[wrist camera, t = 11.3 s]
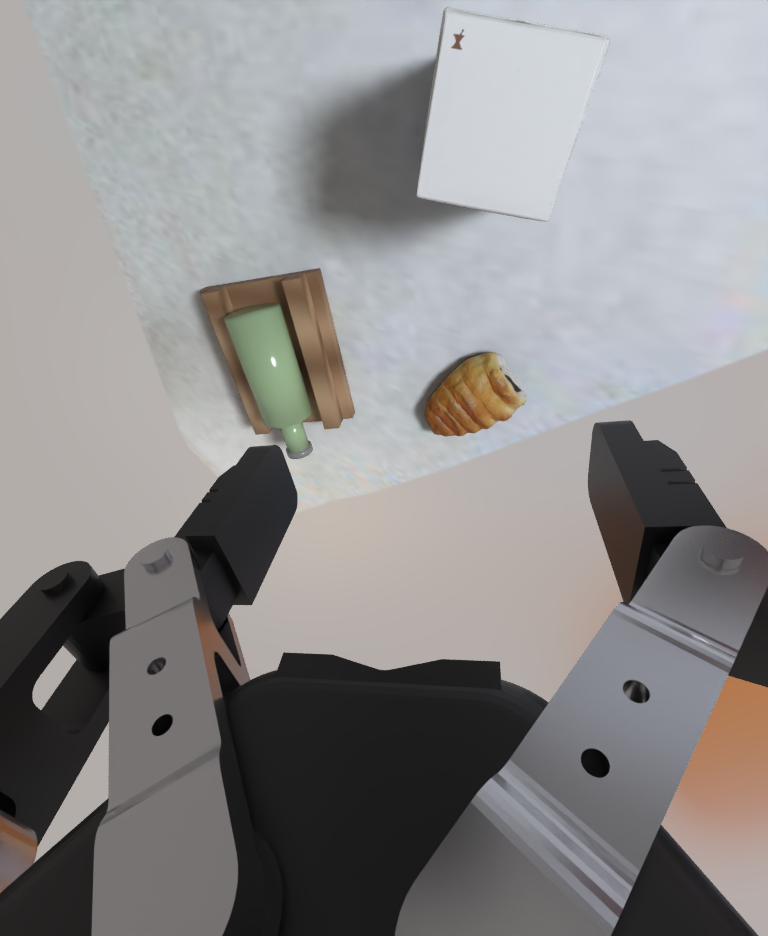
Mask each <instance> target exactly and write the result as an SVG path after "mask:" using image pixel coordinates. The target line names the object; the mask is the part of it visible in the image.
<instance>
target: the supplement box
mask: <svg viewBox="0 0 768 936" xmlns="http://www.w3.org/2000/svg"><path fill="white" fill-rule="evenodd" d="M609 45H610V39H609V37H607V36H605V35H601V34H595V33H590V32H584V31H578V30H572V29H566V28H560V27H555V26H549V25H544V24H538V23H533V22H529V21H524V20H520V19H508V18H503V17H497V16H491V15H486V14H480V13H475V12H469V11H464V10H459V9H454V8H449V7H447V8H445V9H444V12H443V17H442V24H441V30H440V36H439V43H438V49H437V55H436V62H435V68H434V75H433V81H432V88H431V94H430V101H429V107H428V114H427V121H426V128H425V135H424V142H423V150H422V157H421V165H420V172H419V180H418V187H417V194H416V196H417V197H418V198H422V199H426V200H431V201H435V202H440V203H445V204H450V205H455V206H460V207H465V208H470V209H476V210H481V211H486V212H492V213H497V214H503V215H508V216H514V217H519V218H525V219H532V220H538V221H545V222H547V221H548V220H549V217H550V214H551V211H552V208H553V205H554V202H555V199H556V196H557V193H558V190H559V187H560V184H561V181H562V178H563V176H564V173H565V170H566V167H567V164H568V161H569V158H570V156H571V153H572V150H573V147H574V144H575V141H576V139H577V136H578V133H579V130H580V127H581V125H582V122H583V119H584V116H585V113H586V110H587V108H588V105H589V102H590V99H591V96H592V93H593V90H594V88H595V85H596V82H597V79H598V76H599V73H600V70H601V68H602V65H603V62H604V59H605V56H606V53H607V51H608V48H609Z"/></svg>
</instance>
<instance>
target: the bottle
mask: <svg viewBox="0 0 768 936" xmlns="http://www.w3.org/2000/svg"><path fill="white" fill-rule="evenodd" d="M224 321H225V323H226V326H227V329H228V331H229V334H230V336H231V339H232V342H233V344H234V347H235V350H236V352H237V355H238V357H239V360H240V363H241V365H242V368H243V370H244V373H245V376H246V378H247V381H248V384H249V386H250V389H251V391H252V394H253V397H254V399H255V402H256V404H257V407H258V410H259V412H260V415H261V418H262V420H263V423H264V425H265V426H266V427H268V428H274V429H279V428H280V429H281V432H282V435H283V437H284V440H285V443H286V446H287V448H286V452H287V454H288V457H289V458H291V459H299V458H303V457H305V456H307V455H309V454H310V453H311V452H312V450H313V448H312V444H311V442H310V441H308V439H307V436H306V432H305V429H304V426H303V423H302V421H304V420H305V419H306V418H308V417H309V416H310V414H311V413H312V407H311V404H310V401H309V398H308V394H307V391H306V388H305V385H304V381H303V378H302V375H301V372H300V368H299V365H298V362H297V358H296V355H295V352H294V349H293V345H292V342H291V339H290V336H289V332H288V329H287V326H286V323H285V319H284V316H283V313H282V310H281V306H280V304H279V303H263V304H258V305H253V306H249V307H246V308H243V309H240V310H237V311H235V312H233V313H231V314H229V315H227V316H226V317H225V318H224Z"/></svg>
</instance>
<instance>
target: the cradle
mask: <svg viewBox="0 0 768 936" xmlns="http://www.w3.org/2000/svg"><path fill="white" fill-rule="evenodd" d="M200 291H201V297H202V300H203V302H204V305H205V307H206V310H207V312H208V315H209V318H210V320H211V323H212V325H213V328H214V330H215V333H216V335H217V338H218V340H219V343H220V345H221V348H222V350H223V353H224V356H225V358H226V361H227V363H228V366H229V368H230V371H231V373H232V376H233V378H234V381H235V383H236V386H237V388H238V391H239V394H240V396H241V399H242V401H243V404H244V406H245V409H246V411H247V414H248V416H249V419H250V421H251V424H252V426H253V429H254V432H255V434H256V435H257V434H269V433H270V431H271V430H272V428H268V427H266V426H265V425H264V423H263V420H262V418H261V415H260V412H259V410H258V407H257V404H256V402H255V399H254V397H253V394H252V391H251V389H250V386H249V384H248V381H247V378H246V376H245V373H244V370H243V368H242V365H241V363H240V360H239V357H238V355H237V352H236V350H235V347H234V344H233V342H232V339H231V336H230V334H229V331H228V329H227V326H226V323H225V321H224V318H225V317H226V316H227V315H229V314H231V313H233V312H235V311H237V310H240V309H243V308H246V307H249V306H253V305H258V304H263V303H279V304H280V306H281V310H282V313H283V316H284V319H285V323H286V326H287V329H288V332H289V336H290V339H291V342H292V345H293V349H294V352H295V355H296V358H297V362H298V365H299V368H300V372H301V375H302V378H303V381H304V385H305V388H306V391H307V394H308V398H309V401H310V404H311V407H312V413H311V414H310V416H309V417H308V418H306V419H305V420H304V421H302V422H312V421H322V422H323V426H324V429H333V428H339V427H340V425H341V422H342V420H343V419H348V418H353V416H354V413H355V410H354V406H353V402H352V398H351V394H350V390H349V386H348V381H347V377H346V373H345V369H344V365H343V361H342V357H341V352H340V348H339V344H338V340H337V336H336V332H335V328H334V323H333V319H332V315H331V311H330V307H329V303H328V299H327V294H326V290H325V286H324V282H323V278H322V274H321V270H320V268H319V269H313V270H307V271H301V272H295V273H289V274H283V275H277V276H271V277H265V278H258V279H252V280H246V281H240V282H234V283H228V284H222V285H216V286H210V287H206V288H204V289H202V290H200Z"/></svg>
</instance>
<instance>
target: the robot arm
mask: <svg viewBox="0 0 768 936" xmlns="http://www.w3.org/2000/svg"><path fill="white" fill-rule="evenodd" d="M588 490H589V497H590V502H591V505H592V508H593V511H594V514H595V517H596V520H597V523H598V526H599V529H600V531H601V535H602V538H603V541H604V544H605V547H606V550H607V553H608V556H609V559H610V562H611V565H612V568H613V571H614V574H615V577H616V580H617V583H618V586H619V589H620V592H621V595H622V598H623V601H624V602H621V603H619V604H618V605H617V606H616V607H615V608H614V610H613V611H612V613H611V614H610V615H609V617H608V618H607V620H606V621H605V622H604V624H603V625H602V627H601V628H600V630H599V631H598V633H597V634H596V636H595V637H594V638H593V640H592V641H591V643H590V644H589V646H588V647H587V649H586V650H585V651H584V653H583V654H582V656H581V657H580V659H579V660H578V661H577V663H576V664H575V666H574V667H573V669H572V670H571V672H570V673H569V674H568V676H567V677H566V679H565V680H564V682H563V683H562V684H561V686H560V687H559V689H558V690H557V692H556V693H555V695H554V696H553V697H552V699H551V700H550V702H549V703H548V702H547V701H546V700H544V699H543V698H541V697H539V696H538V695H536V694H534V693H532V692H531V691H529V690H527V689H525V688H523V687H520V686H518V685H516V684H513V683H510V682H507V681H504V680H501V673H500V662H494V661H470V660H446V659H441V660H437V661H431V662H427V663H422V664H417V665H412V666H407V667H402V668H397V669H392V670H378V669H375V668H372V667H369V666H366V665H362V664H359V663H356V662H353V661H350V660H347V659H344V658H341V657H338V656H335V655H327V654H303V653H283V656H282V659H281V661H280V664H279V667H278V670H276V671H272V672H269V673H266V674H263V675H261V676H259V677H256V678H254V679H252V680H250V677H249V674H248V671H247V668H246V664H245V661H244V657H243V654H242V651H241V647H240V644H239V641H238V637H237V634H236V631H235V627H234V624H233V621H232V619H231V617H230V615H229V611H230V609H231V607H232V605H252V603H253V601H254V599H255V597H256V595H257V593H258V591H259V588H260V586H261V584H262V582H263V580H264V578H265V576H266V574H267V571H268V569H269V567H270V565H271V563H272V561H273V559H274V556H275V554H276V552H277V550H278V548H279V546H280V544H281V542H282V539H283V537H284V535H285V533H286V531H287V529H288V527H289V524H290V522H291V520H292V518H293V516H294V514H295V512H296V508H297V491H296V488H295V485H294V482H293V479H292V477H291V474H290V471H289V469H288V466H287V463H286V460H285V458H284V455H283V452H282V450H281V449H280V447H279V446H277V445H270V446H256V447H250V448H248V449H247V451H246V452H245V453H244V455H243V456H242V458H241V459H240V460H239V462H238V463H237V465H236V466H233V467H231V468H230V469H229V470H228V471H226V472H225V473H224V474H222V475H221V476H220V477H219V478H218V479H217V480H216V482H215V483H214V484H213V486H212V487H211V488H210V492H208V493H207V494H206V495H205V497H204V498H203V499H202V503H199V505H198V506H197V507H196V509H195V510H194V511H193V513H192V514H191V516H190V517H189V518H188V519H187V521H186V522H185V523H184V525H183V526H182V528H181V529H180V530H179V531H178V533H177V534H176V536H175V537H173V538H165V539H162V540H158V541H156V542H154V543H151V544H150V545H148V546H146V547H145V548H143V549H142V550H140V551H139V552H138V553H136V554H135V555H134V556H133V557H132V558H131V560H130V561H129V562H128V564H127V566H126V568H125V569H122V570H118V571H114V572H111V573H107V574H103V575H99V576H98V575H97V573H96V572H95V571H94V570H93V569H92V567H91V566H90V565H89V563H87V562H84V561H75V562H70V563H66V564H63V565H61V566H59V567H57V568H55V569H53V570H51V571H49V572H48V573H46V574H45V575H43V576H42V577H40V578H39V579H38V580H37V581H36V582H35V583H33V584H32V586H31V587H30V588H29V589H28V590H27V591H26V592H25V593H24V594H23V595H22V596H21V597H20V598H19V600H18V601H17V602H16V603H15V604H14V605H13V606H12V607H11V608H10V609H9V610H8V611H7V613H6V614H5V615H4V616H3V617H2V618H1V619H0V936H758V935H757V934H756V932H755V931H754V930H753V929H752V928H751V927H750V926H749V924H747V922H746V921H745V920H744V919H743V918H742V917H741V915H740V914H739V913H738V912H737V911H736V910H735V909H734V907H733V906H732V905H731V904H730V903H729V902H728V901H727V900H726V898H725V897H724V896H723V895H722V894H721V893H720V891H719V890H718V889H717V888H716V887H715V886H714V885H713V883H712V882H711V881H710V880H709V879H708V878H707V877H706V875H704V873H703V872H702V871H701V870H700V869H699V867H698V866H697V865H696V864H695V863H694V862H693V861H692V859H691V858H690V857H689V856H688V855H687V854H686V853H685V851H684V850H683V849H682V848H681V847H680V846H679V845H678V843H677V842H676V841H675V840H674V839H673V838H672V837H671V836H670V834H669V833H668V832H667V831H666V830H665V829H664V828H663V826H662V825H661V823H662V821H663V819H664V816H665V814H666V812H667V810H668V808H669V805H670V803H671V801H672V799H673V796H674V794H675V792H676V790H677V787H678V785H679V783H680V781H681V779H682V776H683V774H684V772H685V770H686V767H687V765H688V763H689V761H690V759H691V756H692V754H693V752H694V749H695V748H696V745H697V743H698V741H699V738H700V736H701V734H702V732H703V730H704V728H705V725H706V723H707V721H708V719H709V716H710V714H711V712H712V710H713V707H714V705H715V703H716V701H717V699H718V696H719V694H720V692H721V690H722V688H723V685H724V683H725V681H726V679H727V676H728V675H729V676H732V677H735V678H739V679H742V680H745V681H749V682H752V683H755V684H759V685H762V686H765V687H768V551H767V550H766V549H765V548H764V547H763V546H762V545H761V544H760V543H758V542H757V541H755V540H754V539H752V538H751V537H749V536H747V535H745V534H742V533H740V532H737V531H735V530H731V529H728V528H726V526H725V525H724V523H723V522H722V520H721V519H720V517H719V516H718V514H717V513H716V511H715V510H714V508H713V507H712V505H711V504H710V502H709V501H708V499H707V498H706V496H705V494H704V493H703V492H702V490H701V488H700V487H699V485H698V484H697V483H695V479H694V478H693V476H692V475H691V473H690V472H689V471H687V467H686V466H685V464H684V463H683V461H682V460H681V458H680V457H679V455H678V454H677V452H675V451H674V450H672V449H671V448H669V447H668V446H666V445H664V444H663V443H661V442H660V441H658V440H652V441H643V439H642V437H641V436H640V434H639V432H638V431H637V429H636V427H635V425H634V424H633V422H632V421H616V422H602V423H595V425H594V427H593V432H592V443H591V452H590V462H589V473H588ZM62 646H64V647H65V648H66V649H67V650H68V651H69V652H70V653H71V654H72V655H73V656H74V657H75V658H76V659H77V660H76V662H75V663H74V664H73V666H72V667H71V669H70V670H69V672H68V673H67V674H66V676H65V677H64V679H63V680H62V682H61V683H60V685H59V686H58V687H57V689H56V690H55V692H54V693H53V694H52V696H51V697H50V699H49V700H48V702H47V703H46V705H45V706H44V707H43V709H42V710H40V709H38V708H37V707H36V706H35V704H34V703H33V700H32V691H33V688H34V685H35V683H36V681H37V679H38V678H39V677H40V675H41V674H42V673H43V671H44V670H45V668H46V667H47V666H48V664H49V663H50V662H51V660H52V659H53V658H54V656H55V655H56V653H57V652H58V651H59V650H60V648H61V647H62ZM108 722H109V798H108V799H107V800H106V801H105V802H104V803H102V804H101V805H100V806H99V807H98V808H97V809H96V810H94V811H93V812H92V813H91V814H90V815H89V816H88V817H86V818H85V819H84V820H83V821H82V822H81V823H80V824H78V825H77V826H76V827H75V828H74V829H73V830H72V831H70V832H69V833H68V834H67V835H66V836H65V837H64V838H62V839H61V840H60V841H59V842H58V843H57V844H56V845H55V846H53V847H52V848H51V849H50V850H49V851H47V852H46V853H45V854H44V855H43V856H42V857H41V858H39V859H38V860H37V861H36V862H35V863H34V861H35V857H36V852H37V847H38V845H39V843H40V841H41V840H42V838H43V836H44V834H45V833H46V831H47V829H48V827H49V826H50V824H51V822H52V820H53V818H54V816H55V815H56V813H57V811H58V810H59V808H60V806H61V805H62V803H63V801H64V799H65V798H66V796H67V794H68V792H69V791H70V789H71V787H72V785H73V783H74V782H75V780H76V778H77V776H78V775H79V773H80V771H81V769H82V767H83V766H84V764H85V762H86V761H87V759H88V757H89V755H90V753H91V752H92V750H93V748H94V746H95V745H96V743H97V741H98V740H99V738H100V736H101V734H102V732H103V731H104V729H105V727H106V725H107V724H108ZM33 863H34V864H33Z"/></svg>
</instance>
